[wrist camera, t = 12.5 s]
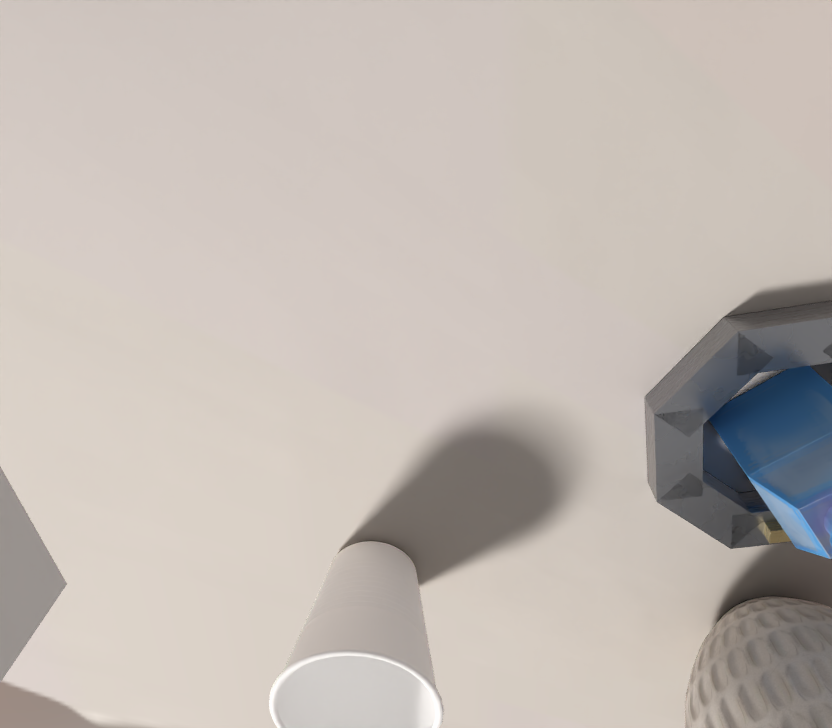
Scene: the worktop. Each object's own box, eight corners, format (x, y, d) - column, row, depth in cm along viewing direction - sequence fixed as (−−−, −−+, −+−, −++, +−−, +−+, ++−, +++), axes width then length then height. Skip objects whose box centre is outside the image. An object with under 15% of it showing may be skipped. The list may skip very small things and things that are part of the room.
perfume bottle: (844, 432, 41) (988, 576, 30) (750, 480, 42) (853, 632, 32) (803, 360, 38) (942, 487, 28) (705, 414, 40) (800, 553, 30)
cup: (454, 527, 45) (458, 665, 35) (431, 628, 49) (428, 776, 40) (310, 505, 45) (273, 640, 35) (299, 610, 49) (263, 754, 39)
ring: (642, 329, 38) (656, 350, 35) (931, 285, 36) (967, 304, 34) (649, 535, 45) (662, 565, 42) (893, 507, 43) (921, 537, 40)
